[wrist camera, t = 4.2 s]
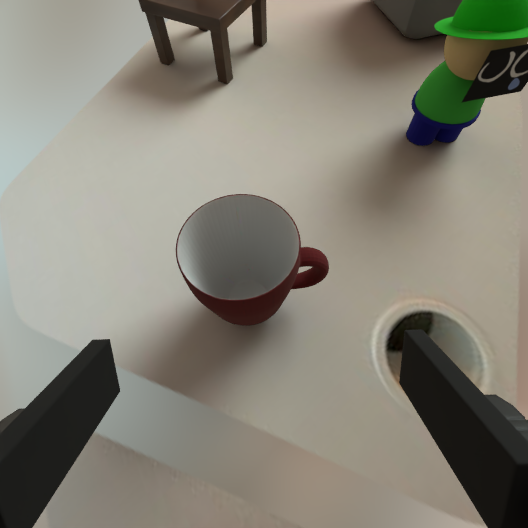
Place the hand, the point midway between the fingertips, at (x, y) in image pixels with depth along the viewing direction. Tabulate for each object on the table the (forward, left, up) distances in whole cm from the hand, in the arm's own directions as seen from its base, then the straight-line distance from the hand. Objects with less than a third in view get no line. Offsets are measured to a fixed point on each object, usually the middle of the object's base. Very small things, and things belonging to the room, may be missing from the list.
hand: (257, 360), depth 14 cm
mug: (+7, +4, -13) cm, 15 cm away
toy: (+35, -4, -13) cm, 38 cm away
